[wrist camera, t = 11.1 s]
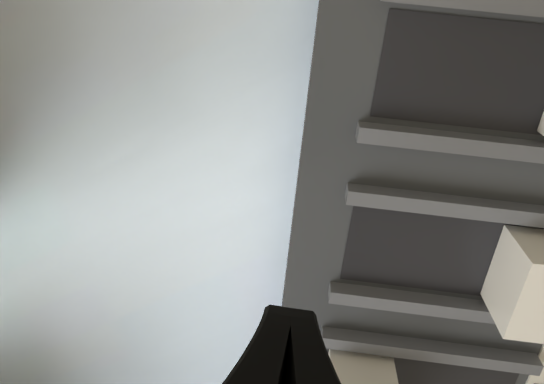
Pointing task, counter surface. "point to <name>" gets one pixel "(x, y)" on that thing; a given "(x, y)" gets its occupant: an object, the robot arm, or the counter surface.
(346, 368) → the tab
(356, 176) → the switch panel
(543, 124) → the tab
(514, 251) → the tab middle
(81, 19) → the counter surface
